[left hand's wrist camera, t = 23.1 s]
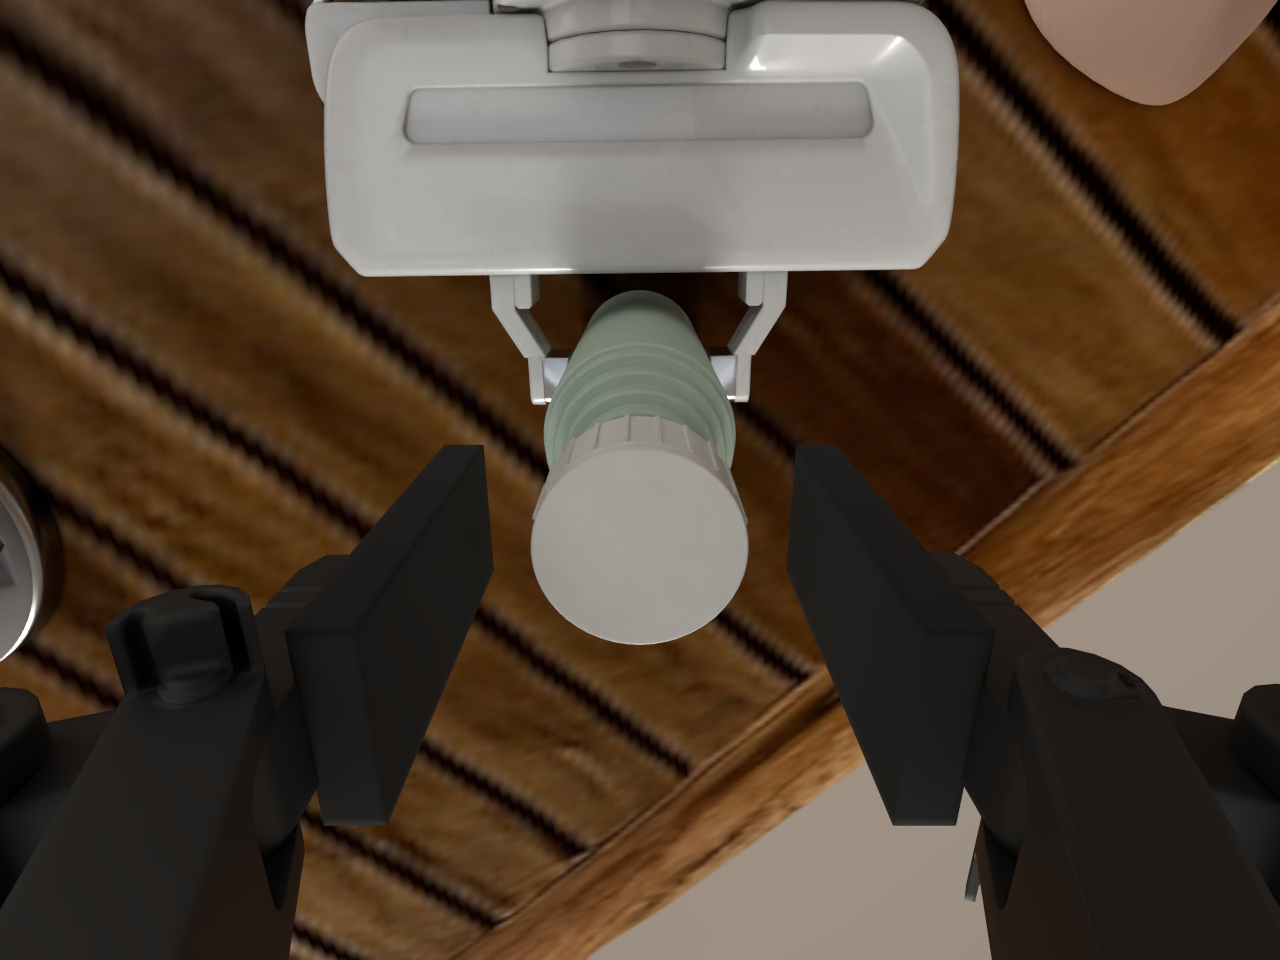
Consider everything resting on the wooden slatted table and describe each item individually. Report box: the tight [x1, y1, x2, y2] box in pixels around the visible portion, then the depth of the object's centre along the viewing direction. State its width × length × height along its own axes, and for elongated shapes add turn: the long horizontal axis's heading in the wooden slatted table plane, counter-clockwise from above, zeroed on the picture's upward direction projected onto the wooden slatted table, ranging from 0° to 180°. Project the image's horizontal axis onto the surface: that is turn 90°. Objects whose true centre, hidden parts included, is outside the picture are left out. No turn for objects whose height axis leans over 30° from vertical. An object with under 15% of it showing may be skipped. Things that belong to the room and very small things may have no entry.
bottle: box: [544, 290, 736, 469], centre depth 22 cm, size 5×5×20 cm
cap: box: [531, 415, 749, 644], centre depth 13 cm, size 4×4×2 cm
